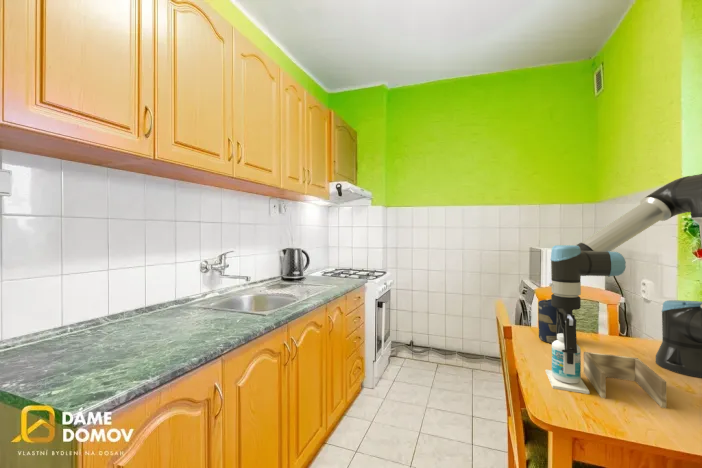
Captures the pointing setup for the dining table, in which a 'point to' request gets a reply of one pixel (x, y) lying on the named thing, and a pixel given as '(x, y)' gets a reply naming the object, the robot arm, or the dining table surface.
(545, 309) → the canister
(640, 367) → the beige three-walled frame
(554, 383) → the tile
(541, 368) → the dining table surface
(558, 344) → the pill bottle
